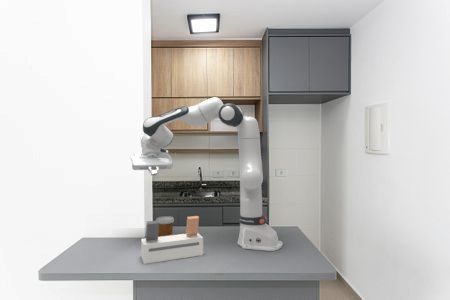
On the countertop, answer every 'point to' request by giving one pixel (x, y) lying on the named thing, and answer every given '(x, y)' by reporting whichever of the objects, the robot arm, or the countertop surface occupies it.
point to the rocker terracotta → (192, 225)
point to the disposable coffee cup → (165, 225)
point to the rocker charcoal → (152, 230)
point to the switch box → (171, 248)
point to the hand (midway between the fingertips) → (154, 174)
